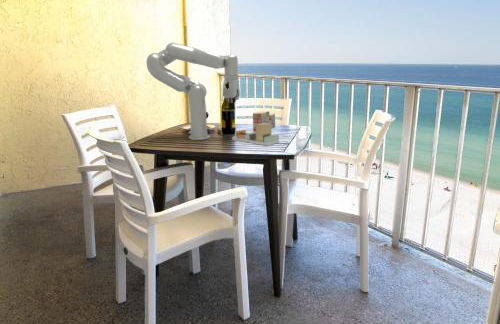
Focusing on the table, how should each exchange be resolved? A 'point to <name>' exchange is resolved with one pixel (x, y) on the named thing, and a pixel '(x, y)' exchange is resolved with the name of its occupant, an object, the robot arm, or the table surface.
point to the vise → (267, 141)
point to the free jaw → (249, 135)
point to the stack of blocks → (263, 119)
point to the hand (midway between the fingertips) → (231, 109)
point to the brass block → (263, 131)
